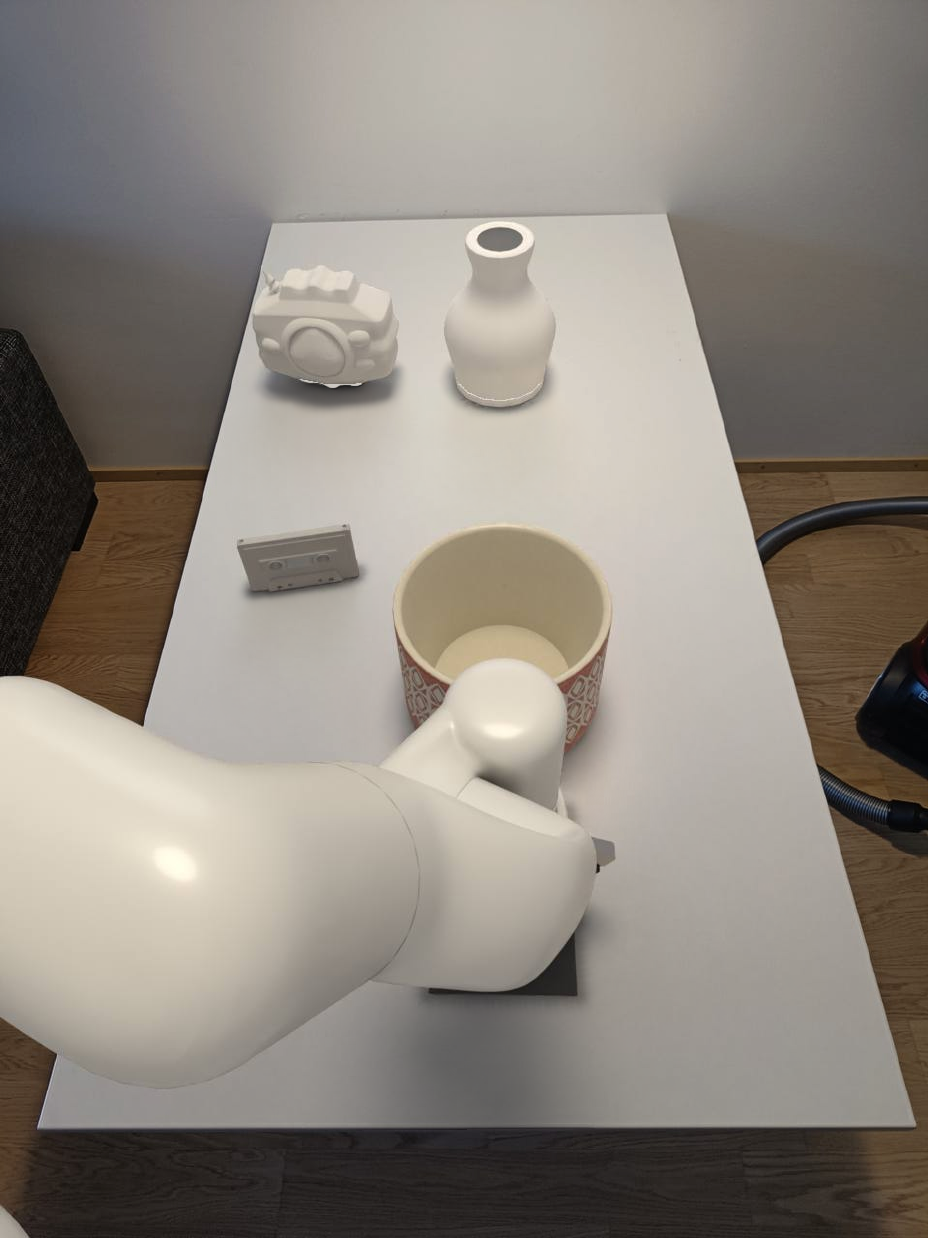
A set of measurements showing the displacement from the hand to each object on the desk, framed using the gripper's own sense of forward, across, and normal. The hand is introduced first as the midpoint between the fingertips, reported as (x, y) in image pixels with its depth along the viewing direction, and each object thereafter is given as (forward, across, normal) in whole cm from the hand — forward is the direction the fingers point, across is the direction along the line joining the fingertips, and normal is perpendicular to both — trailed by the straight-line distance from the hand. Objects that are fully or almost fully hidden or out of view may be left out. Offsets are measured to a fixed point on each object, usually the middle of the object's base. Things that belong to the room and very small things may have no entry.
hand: (500, 889), depth 74 cm
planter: (+3, 0, +21) cm, 21 cm away
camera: (+2, -22, +71) cm, 74 cm away
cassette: (+3, -22, +36) cm, 42 cm away
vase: (+2, 0, +71) cm, 71 cm away
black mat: (+3, 0, 0) cm, 3 cm away
